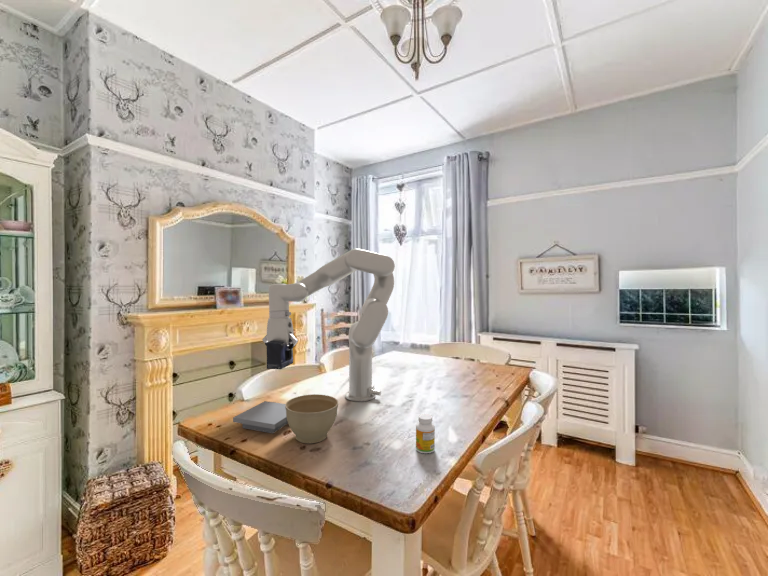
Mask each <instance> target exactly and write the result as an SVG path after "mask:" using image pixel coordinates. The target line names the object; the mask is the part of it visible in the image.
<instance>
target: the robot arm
mask: <svg viewBox="0 0 768 576" xmlns="http://www.w3.org/2000/svg"><path fill="white" fill-rule="evenodd" d="M395 264H396V263H395V261H394V260H393V258H391V257H390V256H389V255H386V254H384V253H383V254H382V253H377V252H374V251H370V250H366V249H362V248H352V249H350V250H348V251H347V252H345V253H343V254H342V255H340V256H338V257H336V258H335V259H333V260H331V261H329V262H327V263H326V264H324V265H322V266H321V267H319V268H318V269H317V270H316V271H313V273H311V274H309V275H308V276H305V277H304V278H302V279H300V280H298V281H297V282H294V283H290V284H289V283H288V284H286V283H272V284H270V285H268V312H269V313H268V315H269V317H268V320H267V323H266V334H265V335H264V337H263V338H262V339H261V340H262V342H263V343H264V345H265V346H266V347H267V343H266V342H269V341H281V342H284V344H285V348H286V351H285V360H286V361H288V360H291V357H292V349H293V350H294V347H296V345H297V344H298V342H299V339H298V338H296V336H295V332H294V331H295V330H294V325H293V321H292V318H291V317H290V316H292V312H291V311H290V302H296V303H298V302H299V303H300V302H303V301H305V300H306V299H307V298H308V297H309V296H312V295H313V294H315V293H316V292H318V291H321V290H322V289H324V288H327V287H329V286H330V287H331V286H332V285H334V284H336V283H337V282H339V281H341V280H343V279H344V278H346V277H348V276H349V275H351V274H353V273H355V272H357V271H360V272H362V273H367V274H371V275H373V277H374V282H373V285H372V287H371V289H370V292H369V293H368V295H367V297H366V299H365V301H364V303H363V304H362V306H361V314H362V315H361V316H360V318H359V320H357V321H356V322H355V321H354V322H353V323H352V324H351V326H350V327H349V330H348V346H349V347H348V352H349V355H348V357H349V359H348V361H349V362H348V366H349V368H348V370H349V371H348V373H349V374H348V375H349V377H348V385H349V386H348V391H347V392H346V393H345V399H346V400H348V401H352V402H368V401H371V400H374V399H375V398H376V396H378V397H379V396H380V397H381V395H382V391H381V389H379V388H375V384H373V345H374V344H375V342H376V340H377V339H378V337H379V336H380V334H381V330H382V329H383V327H384V326H385V323H386V320H387V318H388V316H389V308H388V306H387V304H388V302H389V300H390V297H392V293H393V291H394V287H395V286H394V285H395V277H394V273H393V272H394V271H395V267H396V266H395ZM291 342H292V344H291Z"/></svg>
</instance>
